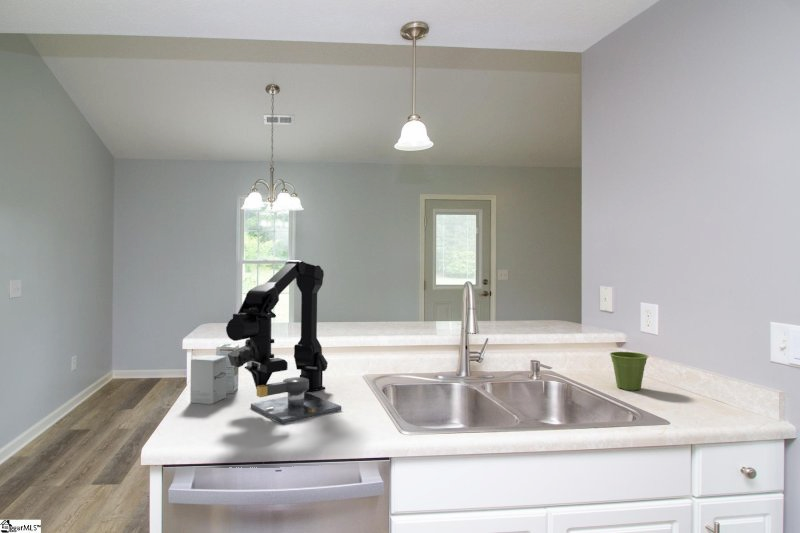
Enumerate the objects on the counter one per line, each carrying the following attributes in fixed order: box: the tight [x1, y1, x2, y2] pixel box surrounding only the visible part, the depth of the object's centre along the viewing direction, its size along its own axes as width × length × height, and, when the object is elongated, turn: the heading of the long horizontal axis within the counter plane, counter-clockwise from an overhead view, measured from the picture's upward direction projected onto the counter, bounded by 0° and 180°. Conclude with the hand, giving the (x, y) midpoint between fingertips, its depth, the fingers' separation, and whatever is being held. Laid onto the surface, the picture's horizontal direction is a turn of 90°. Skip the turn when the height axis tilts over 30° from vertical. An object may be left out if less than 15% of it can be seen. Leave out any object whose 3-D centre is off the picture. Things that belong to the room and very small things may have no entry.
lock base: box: [250, 391, 342, 425], centre depth 136 cm, size 18×18×5 cm
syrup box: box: [215, 343, 240, 395], centre depth 153 cm, size 6×6×14 cm
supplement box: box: [189, 354, 227, 405], centre depth 144 cm, size 7×7×13 cm
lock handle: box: [256, 376, 309, 398], centre depth 133 cm, size 15×7×3 cm, turn 132°
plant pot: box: [609, 351, 649, 392], centre depth 163 cm, size 12×12×11 cm
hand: (259, 392), depth 133 cm, fingers closed
